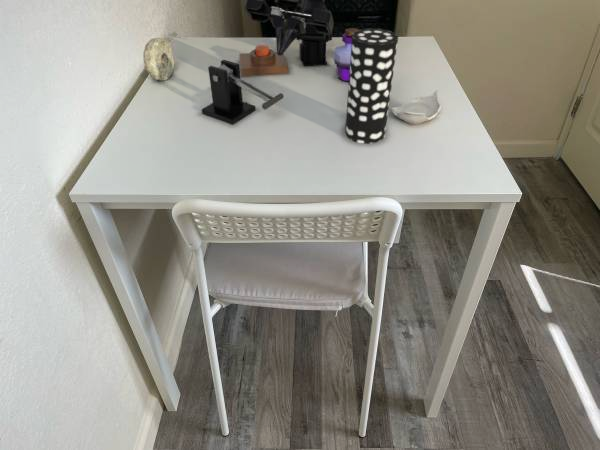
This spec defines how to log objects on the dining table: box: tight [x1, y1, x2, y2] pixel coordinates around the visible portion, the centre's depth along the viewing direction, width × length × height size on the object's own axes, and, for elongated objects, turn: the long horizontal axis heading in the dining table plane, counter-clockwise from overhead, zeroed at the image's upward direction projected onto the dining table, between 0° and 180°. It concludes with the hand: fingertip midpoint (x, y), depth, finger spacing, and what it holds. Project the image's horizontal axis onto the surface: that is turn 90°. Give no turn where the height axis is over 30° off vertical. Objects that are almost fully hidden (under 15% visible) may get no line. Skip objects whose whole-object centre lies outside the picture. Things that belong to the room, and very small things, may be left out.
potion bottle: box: [332, 27, 359, 83], centre depth 113 cm, size 9×9×12 cm
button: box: [254, 44, 270, 56], centre depth 119 cm, size 4×4×2 cm
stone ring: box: [143, 37, 175, 82], centre depth 114 cm, size 10×4×10 cm, turn 160°
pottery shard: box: [391, 90, 442, 125], centre depth 98 cm, size 10×11×5 cm
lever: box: [217, 64, 284, 110], centre depth 96 cm, size 15×6×2 cm, turn 56°
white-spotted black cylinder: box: [344, 28, 399, 145], centre depth 90 cm, size 8×8×20 cm
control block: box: [238, 48, 289, 78], centre depth 121 cm, size 12×10×4 cm
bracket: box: [201, 59, 256, 125], centre depth 100 cm, size 9×8×11 cm
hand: (279, 54), depth 97 cm, fingers closed
